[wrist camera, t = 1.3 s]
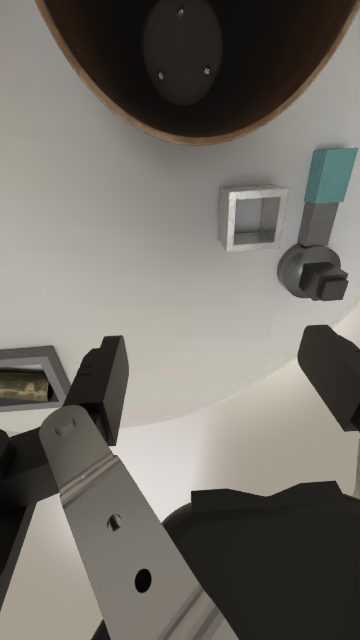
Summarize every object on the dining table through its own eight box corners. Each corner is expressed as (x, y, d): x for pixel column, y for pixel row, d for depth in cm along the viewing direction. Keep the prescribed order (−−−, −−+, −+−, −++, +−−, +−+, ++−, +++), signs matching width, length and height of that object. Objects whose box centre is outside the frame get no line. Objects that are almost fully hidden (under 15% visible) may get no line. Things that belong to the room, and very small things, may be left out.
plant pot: (109, 152, 26) (52, 142, 13) (81, -93, 18) (-159, -830, 5) (246, 155, 27) (328, 148, 14) (278, -78, 19) (561, -669, 5)
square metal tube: (219, 187, 29) (229, 192, 24) (270, 184, 29) (289, 188, 24) (218, 240, 32) (226, 251, 28) (264, 236, 32) (279, 248, 28)
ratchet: (297, 151, 27) (340, 148, 20) (359, 147, 27) (423, 143, 20) (273, 290, 36) (298, 319, 30) (320, 286, 36) (355, 315, 30)
